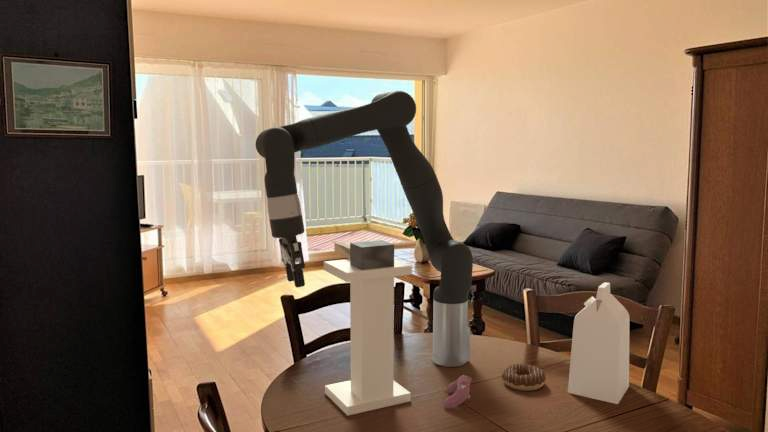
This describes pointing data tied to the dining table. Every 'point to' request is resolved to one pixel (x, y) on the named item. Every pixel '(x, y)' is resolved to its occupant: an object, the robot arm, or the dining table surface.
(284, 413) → the dining table surface
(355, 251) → the grey and beige blocks
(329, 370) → the dining table surface
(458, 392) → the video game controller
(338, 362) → the dining table surface
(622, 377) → the milk
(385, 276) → the stand
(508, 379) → the donut
